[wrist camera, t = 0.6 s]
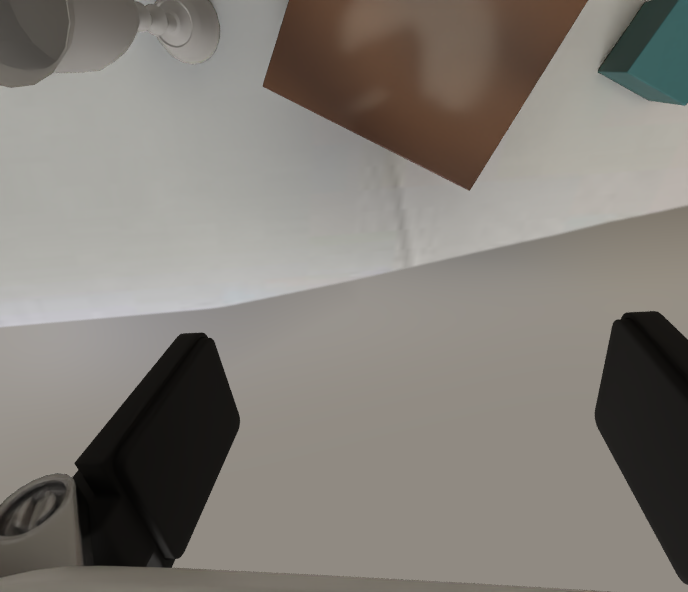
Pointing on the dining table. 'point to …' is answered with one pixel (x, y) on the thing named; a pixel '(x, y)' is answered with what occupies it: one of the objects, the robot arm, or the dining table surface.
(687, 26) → the block
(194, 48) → the chalice
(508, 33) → the box lid
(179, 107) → the dining table surface
